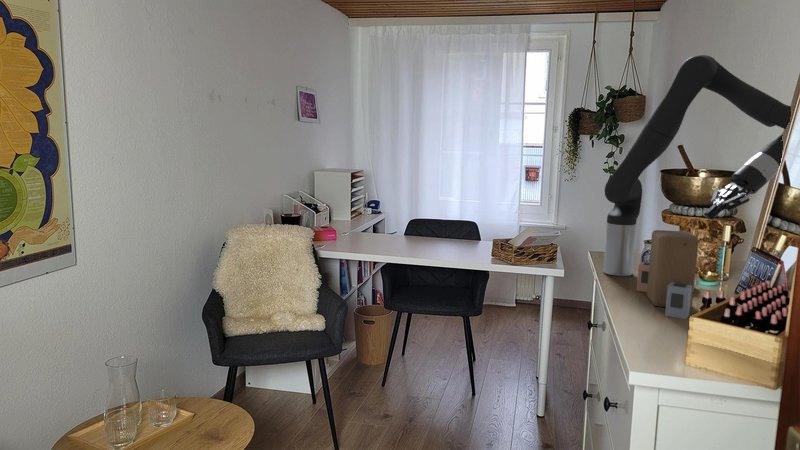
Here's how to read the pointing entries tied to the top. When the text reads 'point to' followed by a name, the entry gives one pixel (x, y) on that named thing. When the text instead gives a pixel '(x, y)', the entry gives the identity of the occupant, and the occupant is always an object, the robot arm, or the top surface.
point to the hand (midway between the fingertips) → (707, 217)
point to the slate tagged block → (678, 300)
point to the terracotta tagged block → (643, 276)
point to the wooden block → (671, 263)
